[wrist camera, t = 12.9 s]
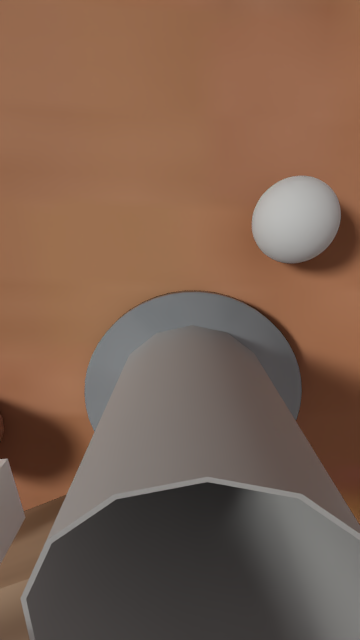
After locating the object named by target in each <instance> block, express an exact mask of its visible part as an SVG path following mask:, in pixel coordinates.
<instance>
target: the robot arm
mask: <svg viewBox="0 0 360 640" xmlns="http://www.w3.org/2000/svg"><path fill="white" fill-rule="evenodd" d="M24 519H25V515H24V511H23V508H22V504H21V501H20V498H19V494H18V491H17V488H16V484H15V481H14V478H13V474H12V471H11V468H10V464H9V461H8V459H0V564H1V562H2V560H3V559H4V557H5V555H6V553H7V551H8V549H9V547H10V546H11V544H12V542H13V540H14V538H15V536H16V534H17V532H18V531H19V529H20V527H21V525H22V523H23V521H24Z"/></svg>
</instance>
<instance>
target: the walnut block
mask: <svg viewBox="0 0 360 640" xmlns="http://www.w3.org/2000/svg"><path fill="white" fill-rule="evenodd" d="M65 497H66V495H65V496H62V497H59V498H57V499H54V500H52V501H49V502H47V503H44V504H41V505H39V506H36V507H34V508H31V509H29V510H26V511H24V515H25V519H24V521H23V523H22V525H21V527H20V529H19V531H18V532H17V534H16V536H15V538H14V540H13V542H12V544H11V546H10V547H9V549H8V551H7V553H6V555H5V557H4V559H3V560H2V562H1V564H0V640H30V639H29V634H28V630H27V625H26V621H25V616H24V612H23V608H22V603H21V599H20V598H21V596H22V594H23V591H24V589H25V587H26V585H27V582H28V580H29V578H30V576H31V573H32V571H33V569H34V567H35V564H36V562H37V560H38V558H39V556H40V553H41V551H42V549H43V547H44V544H45V542H46V540H47V538H48V535H49V533H50V531H51V529H52V526H53V524H54V522H55V520H56V517H57V515H58V513H59V511H60V509H61V506H62V504H63V502H64V500H65Z"/></svg>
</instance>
